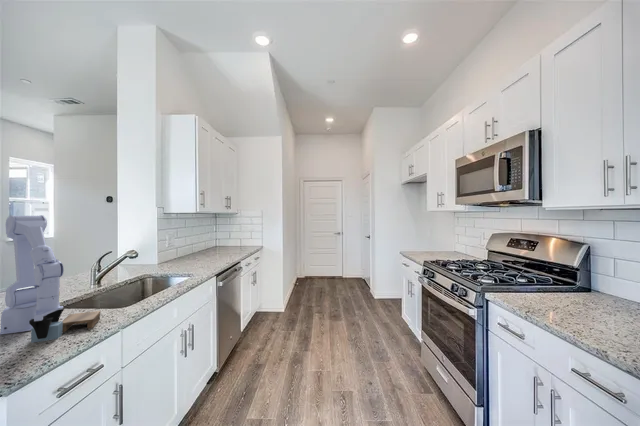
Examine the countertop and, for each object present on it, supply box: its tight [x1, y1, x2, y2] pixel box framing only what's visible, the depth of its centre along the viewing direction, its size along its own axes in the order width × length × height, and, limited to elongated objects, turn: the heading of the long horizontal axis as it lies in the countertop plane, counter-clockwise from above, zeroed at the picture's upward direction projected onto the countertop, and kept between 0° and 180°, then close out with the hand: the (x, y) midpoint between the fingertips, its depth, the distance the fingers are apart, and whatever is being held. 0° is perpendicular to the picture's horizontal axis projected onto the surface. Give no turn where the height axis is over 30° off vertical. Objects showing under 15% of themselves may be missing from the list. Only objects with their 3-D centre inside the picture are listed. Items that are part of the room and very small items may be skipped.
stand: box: [62, 310, 101, 333], centre depth 107 cm, size 10×10×4 cm
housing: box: [30, 320, 63, 344], centre depth 96 cm, size 7×4×6 cm, turn 117°
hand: (47, 333), depth 96 cm, fingers open, 7 cm apart
